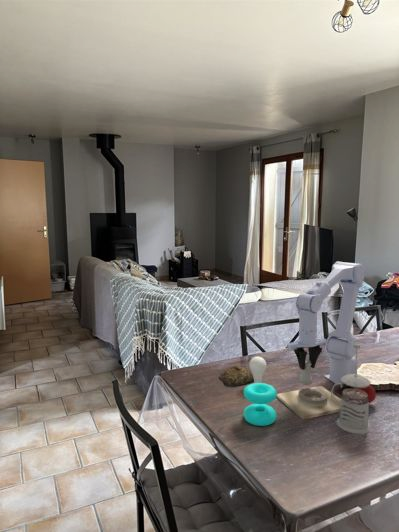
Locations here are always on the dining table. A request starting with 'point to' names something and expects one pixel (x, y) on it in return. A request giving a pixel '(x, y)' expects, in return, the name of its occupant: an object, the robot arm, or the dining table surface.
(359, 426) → the french press
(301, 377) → the rook chess piece
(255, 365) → the lightbulb
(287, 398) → the ring board
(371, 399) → the pomegranate
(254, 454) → the dining table surface
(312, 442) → the dining table surface
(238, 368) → the bread roll
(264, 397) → the donuts
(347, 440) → the dining table surface
